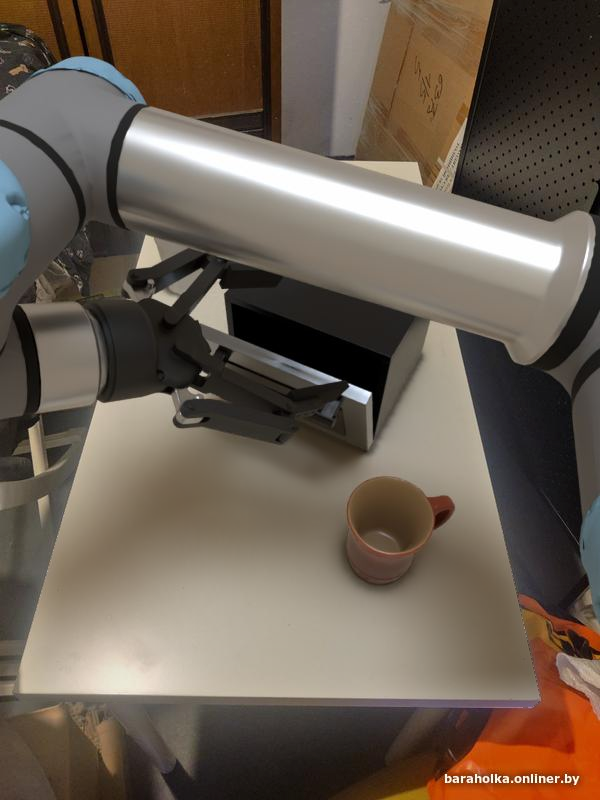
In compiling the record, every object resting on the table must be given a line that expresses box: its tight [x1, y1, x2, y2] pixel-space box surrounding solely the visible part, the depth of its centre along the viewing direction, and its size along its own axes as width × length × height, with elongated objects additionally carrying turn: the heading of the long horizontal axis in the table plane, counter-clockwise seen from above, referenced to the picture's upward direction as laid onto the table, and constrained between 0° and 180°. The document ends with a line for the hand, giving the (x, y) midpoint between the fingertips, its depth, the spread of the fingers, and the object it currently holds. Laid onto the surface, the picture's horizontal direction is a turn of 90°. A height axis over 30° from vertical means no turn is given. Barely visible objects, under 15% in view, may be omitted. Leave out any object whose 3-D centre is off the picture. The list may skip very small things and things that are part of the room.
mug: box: [345, 475, 456, 585], centre depth 59 cm, size 12×9×10 cm
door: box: [199, 322, 374, 452], centre depth 67 cm, size 5×22×16 cm, turn 62°
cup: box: [153, 237, 203, 295], centre depth 88 cm, size 8×8×12 cm
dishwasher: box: [223, 277, 431, 442], centre depth 75 cm, size 18×22×16 cm
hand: (309, 331), depth 53 cm, fingers open, 13 cm apart
